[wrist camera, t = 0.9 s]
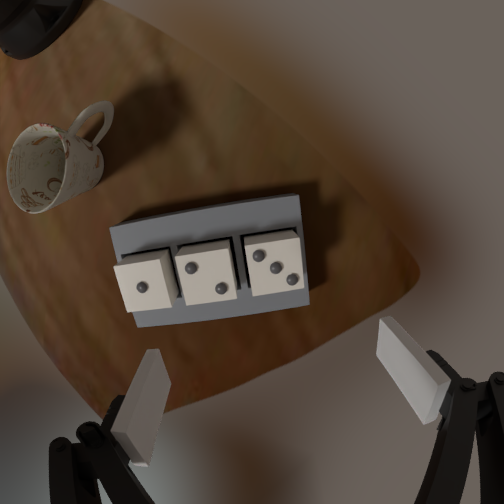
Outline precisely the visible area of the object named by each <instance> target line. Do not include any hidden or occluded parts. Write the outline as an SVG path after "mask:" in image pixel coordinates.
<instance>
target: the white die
mask: <svg viewBox="0 0 504 504" xmlns="http://www.w3.org/2000/svg"><path fill="white" fill-rule="evenodd" d="M175 261H176V265H177V269H178V274H179V278H180V282H181V286H182V290H183V294H184V298H185V302H186V306H187V305H195V304H203V303H211V302H218V301H225V300H232V299H237V280H236V275H235V269H234V263H233V258H232V252H231V246H230V240H229V239H226V240H220V241H213V242H207V243H201V244H194V245H188V246H182V247H181V249H180V250H179V252H178V253H177V254H176V256H175Z"/></svg>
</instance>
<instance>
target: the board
mask: <svg viewBox="0 0 504 504" xmlns="http://www.w3.org/2000/svg"><path fill="white" fill-rule="evenodd" d="M289 227H292V230H293V231H294V232H295V233H296V234H297V235H298V236H299V238H300V247H301V257H302V267H303V278H304V288H302V289H296V290H290V291H284V292H278V293H272V294H265V295H259V296H253V295H252V289H251V283H250V278H247V274H246V268H245V262H244V256H243V249H242V243H241V237H240V235H242V234H249V233H255V232H262V231H269V230H275V229H282V228H289ZM110 233H111V237H112V241H113V245H114V250H115V254H116V257H117V261H118V263H119V262H120V261H121V260H122V259H124V258H125V257H126V256H129V255H132V254H131V253H133V252H138V251H144V250H150V249H156V248H162V247H168V246H170V248H171V253H172V257H173V262H174V266H175V270H176V275H177V279H178V283H179V287H180V288H178V290H179V293H178V295H177V298H176V300H175V302H174V304H173V306H172V307H171V308H162V309H154V310H144V311H135V312H133V315H134V318H135V321H136V324H137V327H148V326H159V325H169V324H179V323H188V322H197V321H205V320H213V319H221V318H228V317H235V316H242V315H249V314H256V313H262V312H269V311H275V310H281V309H287V308H293V307H299V306H304V305H310V304H309V291H308V279H307V267H306V256H305V246H304V236H303V227H302V218H301V209H300V201H299V195H297V194H294V193H290V194H283V195H275V196H268V197H261V198H254V199H248V200H241V201H235V202H228V203H222V204H216V205H210V206H204V207H198V208H193V209H187V210H182V211H176V212H171V213H166V214H160V215H155V216H150V217H145V218H140V219H135V220H131V221H126V222H121V223H118V224H116V225H114V226H112V227H110ZM229 236H233V242H234V248H235V254H236V260H237V266H238V272H239V278H240V280H237V299H232V300H225V301H218V302H211V303H203V304H195V305H187V306H186V302H185V298H184V294H183V290H182V286H181V282H180V278H179V274H178V269H177V265H176V261H175V256H176V254H177V253H178V252H179V250H180V249H181V247H182V246H183V244H186V243H192V242H198V241H204V240H210V239H217V238H223V237H229Z"/></svg>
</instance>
